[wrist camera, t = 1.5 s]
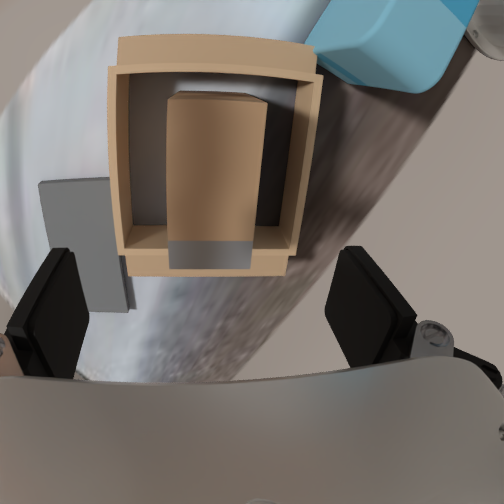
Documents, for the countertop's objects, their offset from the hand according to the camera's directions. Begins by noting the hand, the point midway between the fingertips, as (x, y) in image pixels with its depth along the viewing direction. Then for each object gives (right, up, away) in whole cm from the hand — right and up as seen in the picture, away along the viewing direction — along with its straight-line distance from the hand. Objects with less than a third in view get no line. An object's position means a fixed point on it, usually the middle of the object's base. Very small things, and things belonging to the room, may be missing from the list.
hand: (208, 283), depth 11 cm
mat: (-14, +1, +17) cm, 22 cm away
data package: (+10, +20, +9) cm, 24 cm away
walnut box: (-2, +9, +14) cm, 17 cm away
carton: (-2, +9, +14) cm, 17 cm away
